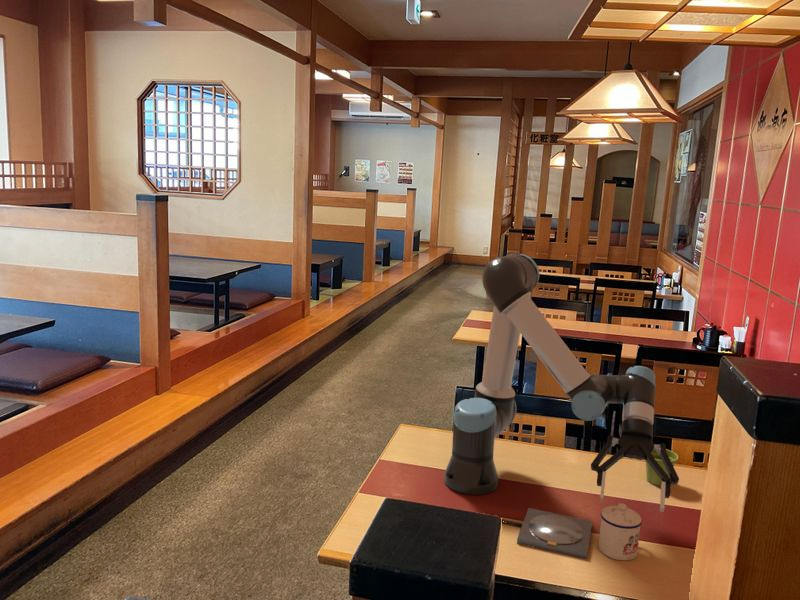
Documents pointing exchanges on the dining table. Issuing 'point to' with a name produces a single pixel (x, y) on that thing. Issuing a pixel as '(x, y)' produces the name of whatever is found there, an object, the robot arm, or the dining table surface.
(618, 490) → the dining table surface
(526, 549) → the dining table surface
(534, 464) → the dining table surface
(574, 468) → the dining table surface
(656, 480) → the plant pot
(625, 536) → the teacup with lid
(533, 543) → the cup warmer plate
